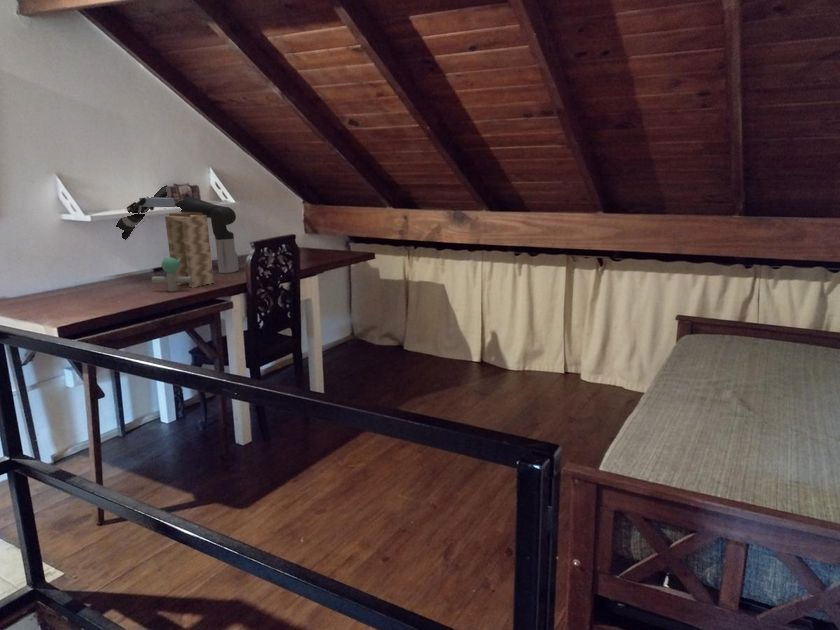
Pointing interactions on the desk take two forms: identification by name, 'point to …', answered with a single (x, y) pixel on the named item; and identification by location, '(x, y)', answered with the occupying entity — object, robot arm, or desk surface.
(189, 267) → the zigzag patterned block
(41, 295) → the desk surface
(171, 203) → the bar
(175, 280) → the toy
